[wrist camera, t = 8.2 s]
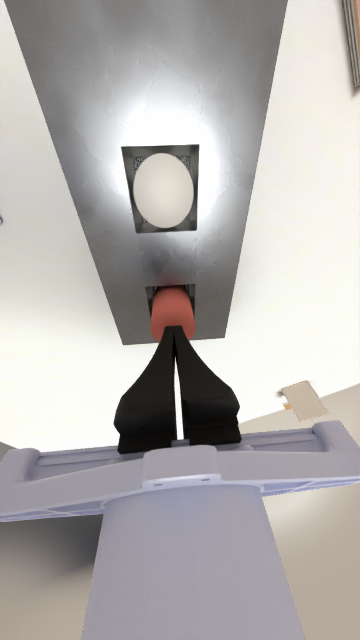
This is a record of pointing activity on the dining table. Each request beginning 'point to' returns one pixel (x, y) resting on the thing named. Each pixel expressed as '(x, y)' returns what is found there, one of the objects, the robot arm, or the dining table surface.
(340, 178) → the dining table surface
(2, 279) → the dining table surface
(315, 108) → the dining table surface
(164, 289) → the red plug
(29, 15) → the block
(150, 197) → the plug
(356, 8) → the notebook
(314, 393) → the architectural model
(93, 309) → the dining table surface
